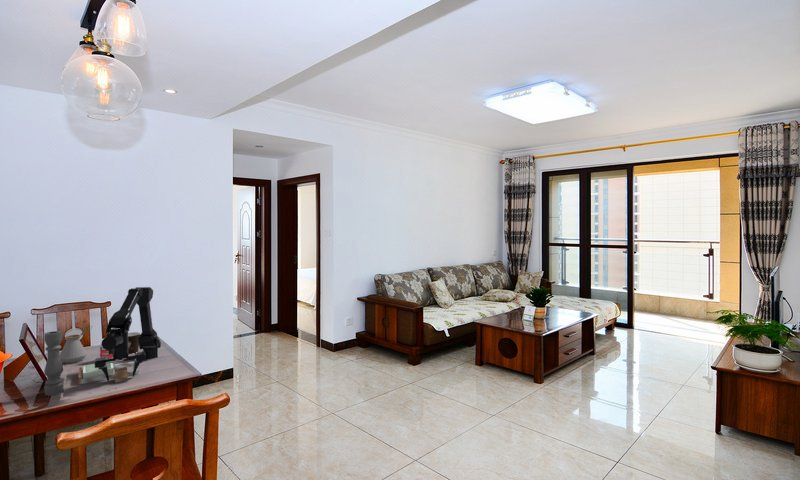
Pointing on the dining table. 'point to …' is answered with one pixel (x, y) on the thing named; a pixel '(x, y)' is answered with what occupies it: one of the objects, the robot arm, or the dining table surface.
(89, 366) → the crate
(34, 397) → the dining table surface
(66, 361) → the coffee pot
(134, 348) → the coffee mug
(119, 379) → the walnut block
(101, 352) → the pill bottle
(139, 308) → the robot arm
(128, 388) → the dining table surface
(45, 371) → the candle holder
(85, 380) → the bay board
